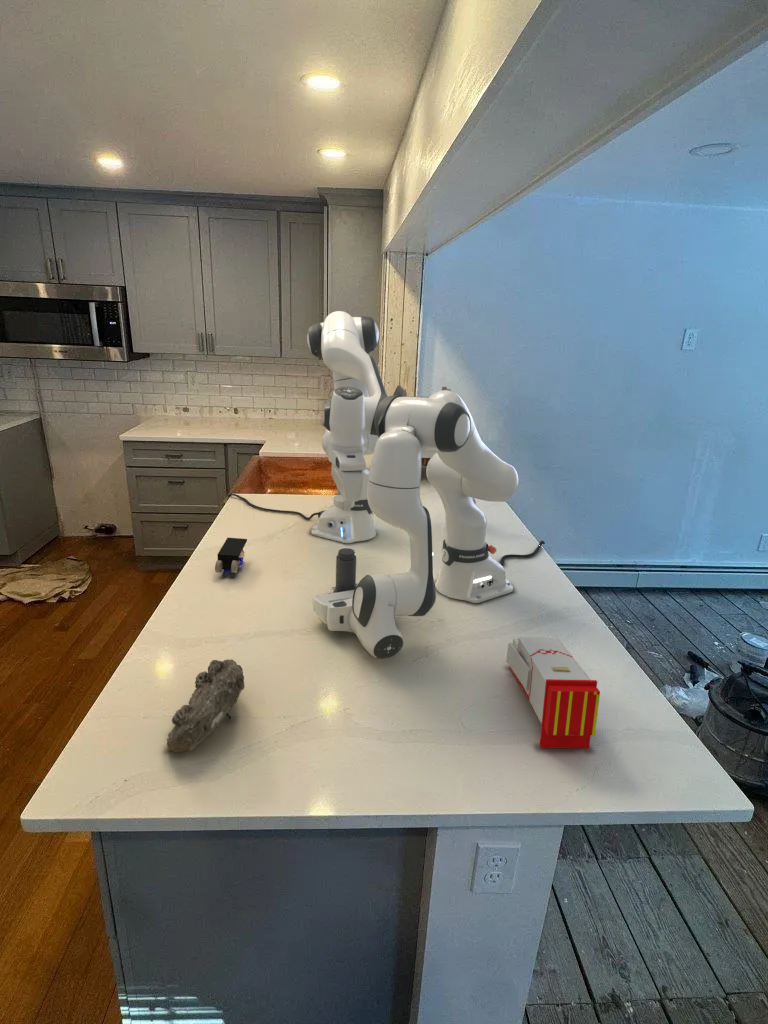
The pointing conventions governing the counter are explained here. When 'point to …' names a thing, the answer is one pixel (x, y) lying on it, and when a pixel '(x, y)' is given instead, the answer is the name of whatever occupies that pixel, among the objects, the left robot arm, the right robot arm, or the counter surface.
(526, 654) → the toy
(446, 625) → the counter surface
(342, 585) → the dark gray cylinder
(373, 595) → the right robot arm
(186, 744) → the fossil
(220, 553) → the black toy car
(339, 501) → the lid
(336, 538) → the left robot arm
